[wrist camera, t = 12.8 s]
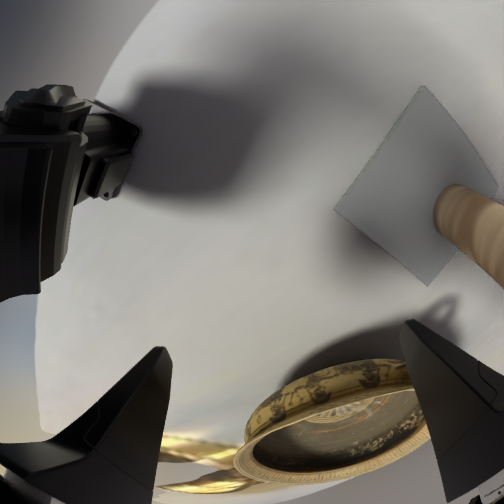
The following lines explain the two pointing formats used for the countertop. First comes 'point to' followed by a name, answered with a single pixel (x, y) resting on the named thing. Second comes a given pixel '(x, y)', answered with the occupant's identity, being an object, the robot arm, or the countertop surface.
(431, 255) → the slate tile
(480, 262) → the oak pepper mill
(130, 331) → the countertop surface
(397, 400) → the gold ornate bowl
